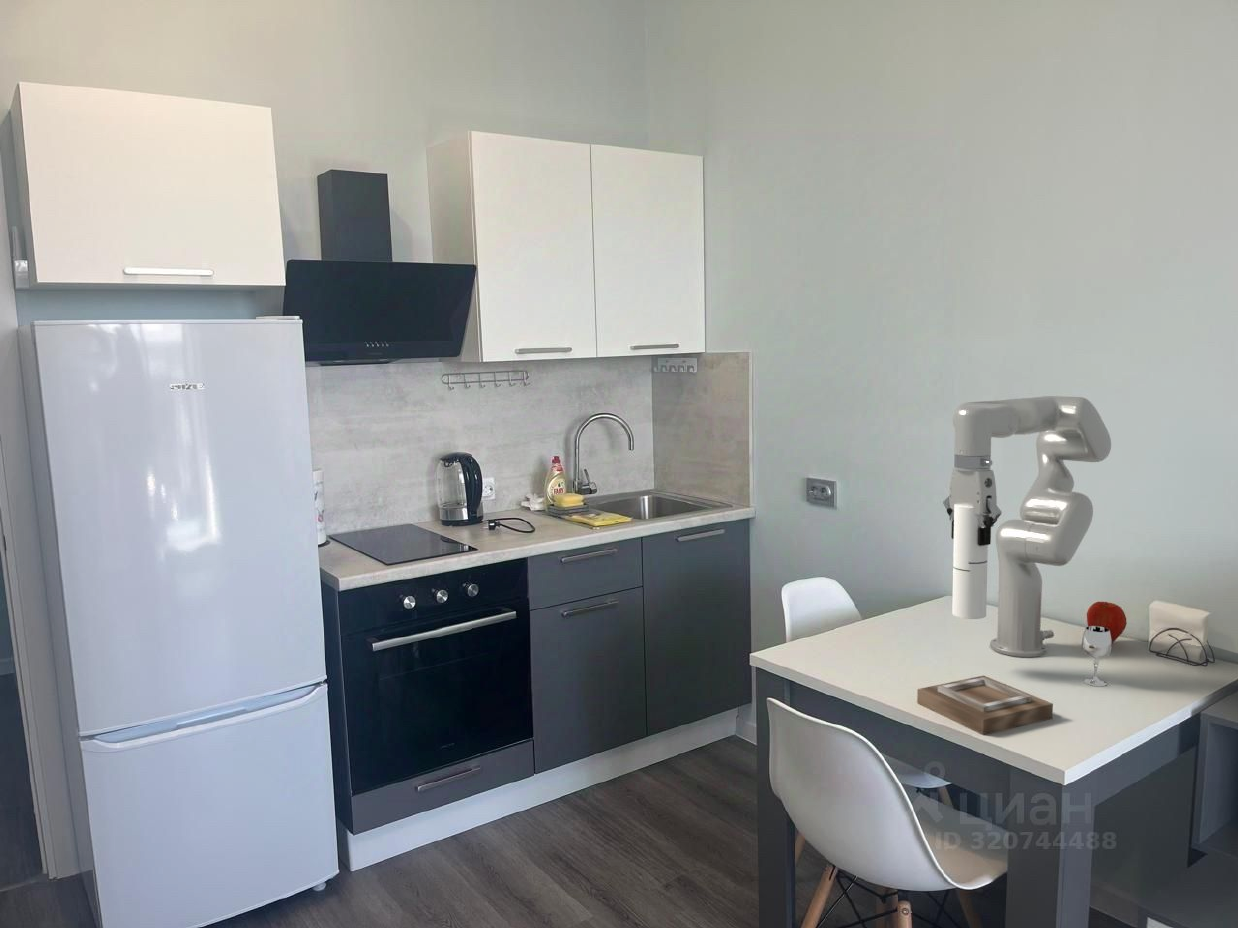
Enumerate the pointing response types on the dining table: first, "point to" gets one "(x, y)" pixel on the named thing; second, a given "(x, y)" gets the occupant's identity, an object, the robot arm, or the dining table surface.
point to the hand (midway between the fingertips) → (970, 541)
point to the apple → (1107, 618)
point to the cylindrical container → (968, 566)
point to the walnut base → (984, 704)
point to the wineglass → (1096, 648)
